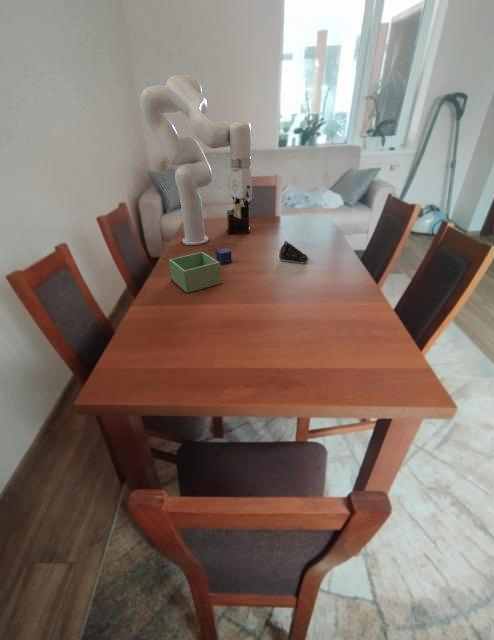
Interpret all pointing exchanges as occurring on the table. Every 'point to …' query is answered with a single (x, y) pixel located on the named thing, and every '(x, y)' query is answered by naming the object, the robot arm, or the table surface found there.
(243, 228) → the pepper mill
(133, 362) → the table surface
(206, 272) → the bin
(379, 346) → the table surface
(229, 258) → the navy block
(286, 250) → the chocolate cake
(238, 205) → the birch block
